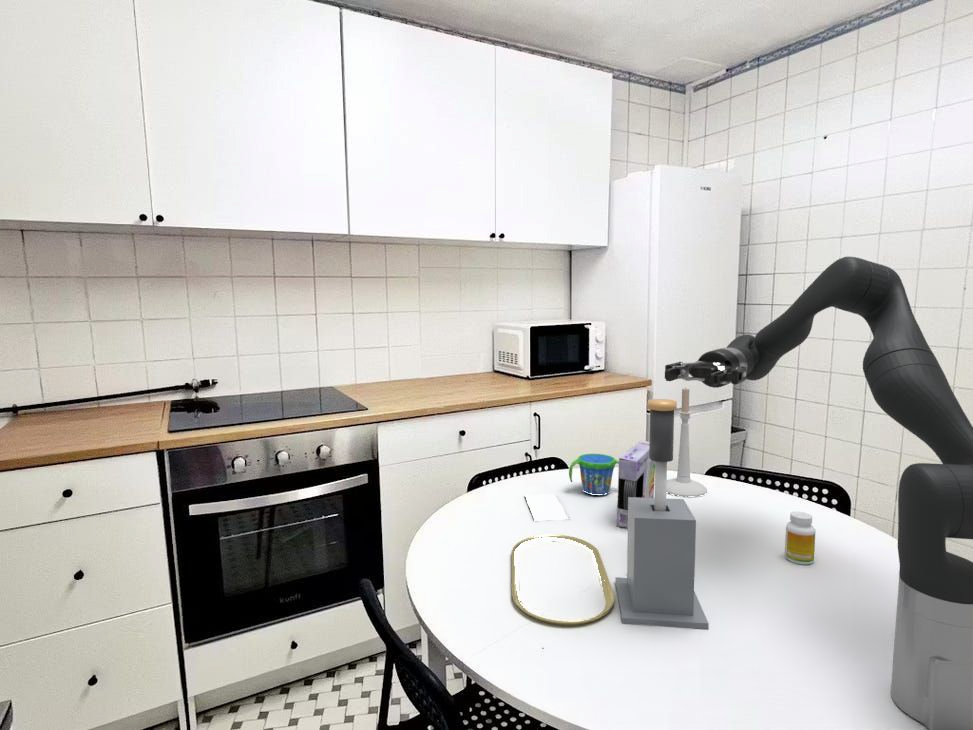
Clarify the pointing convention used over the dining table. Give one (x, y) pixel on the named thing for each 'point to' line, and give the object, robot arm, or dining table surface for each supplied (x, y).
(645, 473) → the cake pan box
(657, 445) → the plunger
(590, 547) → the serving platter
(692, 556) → the column
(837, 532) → the dining table surface
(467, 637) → the dining table surface
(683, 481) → the candlestick
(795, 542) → the supplement bottle
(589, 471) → the snack cup
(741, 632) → the dining table surface
